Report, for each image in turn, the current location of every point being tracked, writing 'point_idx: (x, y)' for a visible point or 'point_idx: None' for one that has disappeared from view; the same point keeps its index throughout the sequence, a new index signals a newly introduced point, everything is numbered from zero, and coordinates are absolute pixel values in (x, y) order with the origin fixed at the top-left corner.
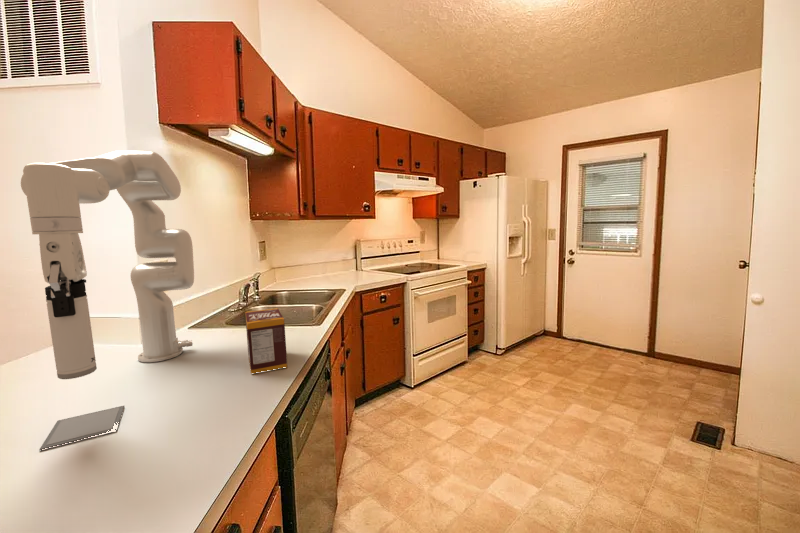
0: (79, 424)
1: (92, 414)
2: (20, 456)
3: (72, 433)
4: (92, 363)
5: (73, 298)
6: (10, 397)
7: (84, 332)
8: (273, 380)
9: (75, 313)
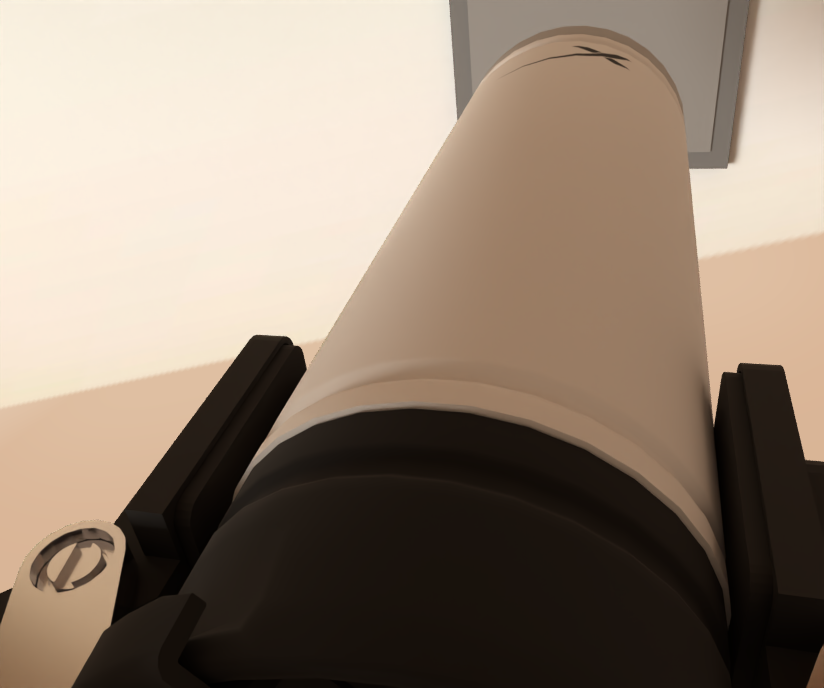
0: None
1: (480, 31)
2: (716, 219)
3: None
4: (618, 51)
5: (801, 550)
6: (134, 370)
7: (647, 181)
8: None
9: (763, 366)
